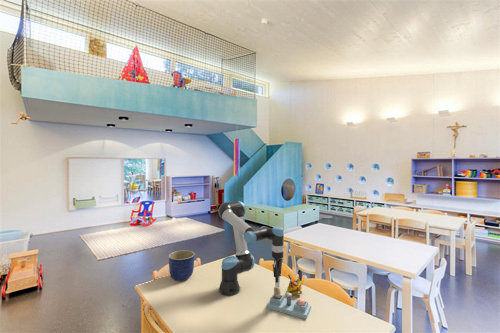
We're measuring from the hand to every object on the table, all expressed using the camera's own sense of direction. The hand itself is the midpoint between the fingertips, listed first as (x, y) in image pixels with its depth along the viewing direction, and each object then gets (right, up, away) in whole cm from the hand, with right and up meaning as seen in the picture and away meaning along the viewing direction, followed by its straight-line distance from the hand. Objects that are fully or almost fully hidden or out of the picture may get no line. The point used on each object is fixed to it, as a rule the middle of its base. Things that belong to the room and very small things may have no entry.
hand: (277, 286), depth 164 cm
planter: (-74, -12, +38) cm, 84 cm away
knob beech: (0, -8, 0) cm, 8 cm away
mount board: (+7, -13, -3) cm, 15 cm away
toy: (+14, -13, +15) cm, 25 cm away
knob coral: (+14, -12, -7) cm, 20 cm away
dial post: (+7, -10, -3) cm, 13 cm away
